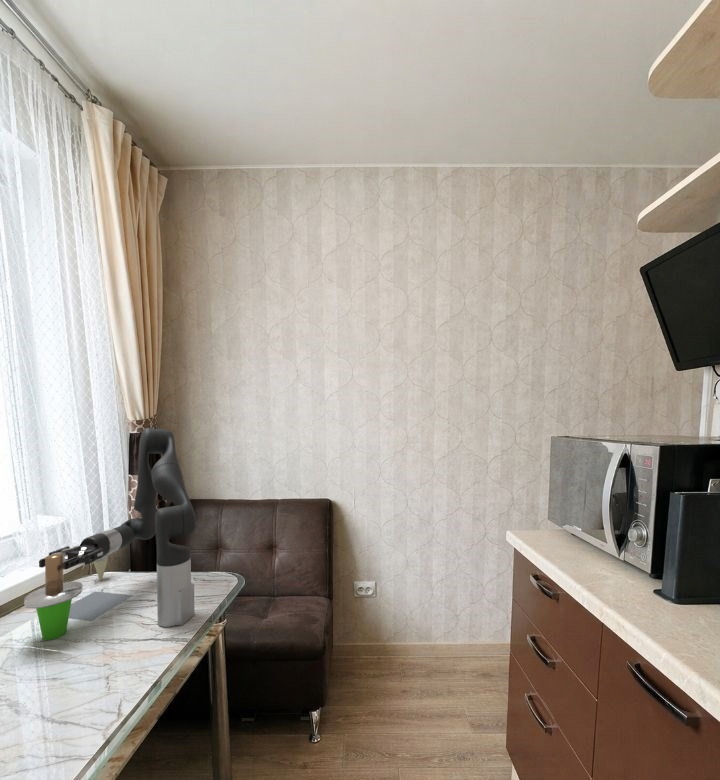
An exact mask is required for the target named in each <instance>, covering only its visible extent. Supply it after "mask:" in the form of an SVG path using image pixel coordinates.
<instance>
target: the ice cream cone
mask: <svg viewBox="0 0 720 780" xmlns="http://www.w3.org/2000/svg"><path fill="white" fill-rule="evenodd" d="M108 561H109V556H108V555H106V556H104V557H102V558H100V559H98V560H96V561H93V562H92V563H93V565H94V567H95V571H96V574H97V576H98V577H97V578H98V579H99V581H103V577H104V574H105V571H106V567H107V564H108Z"/></svg>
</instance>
